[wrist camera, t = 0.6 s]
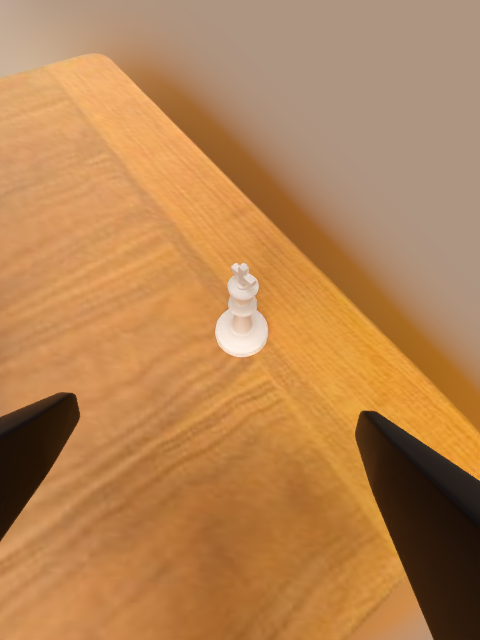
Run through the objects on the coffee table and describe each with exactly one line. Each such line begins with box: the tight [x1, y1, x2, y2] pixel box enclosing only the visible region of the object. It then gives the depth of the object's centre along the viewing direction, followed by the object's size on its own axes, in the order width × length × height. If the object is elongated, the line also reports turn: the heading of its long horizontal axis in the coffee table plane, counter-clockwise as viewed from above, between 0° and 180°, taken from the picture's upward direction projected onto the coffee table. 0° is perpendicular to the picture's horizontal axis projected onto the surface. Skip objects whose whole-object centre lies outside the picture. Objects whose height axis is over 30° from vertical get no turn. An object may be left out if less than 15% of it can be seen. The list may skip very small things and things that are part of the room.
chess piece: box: [215, 262, 268, 357], centre depth 18 cm, size 5×5×10 cm
